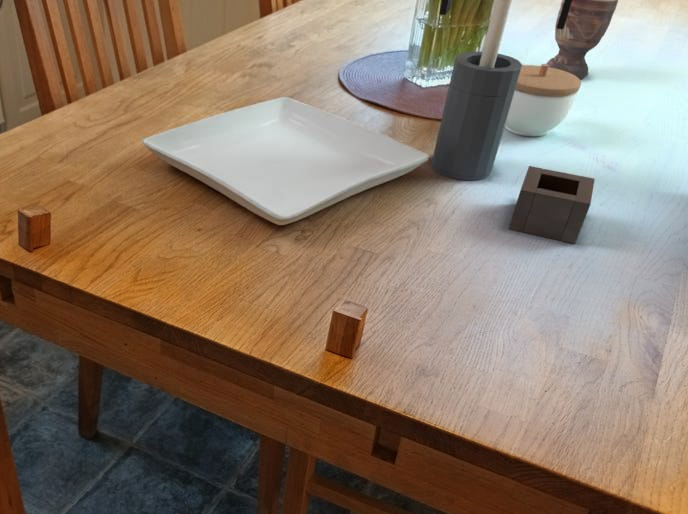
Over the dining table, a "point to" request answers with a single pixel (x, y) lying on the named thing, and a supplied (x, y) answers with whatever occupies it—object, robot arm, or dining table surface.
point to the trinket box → (541, 100)
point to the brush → (495, 33)
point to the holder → (552, 204)
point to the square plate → (284, 157)
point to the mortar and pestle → (581, 34)
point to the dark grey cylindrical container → (474, 116)
